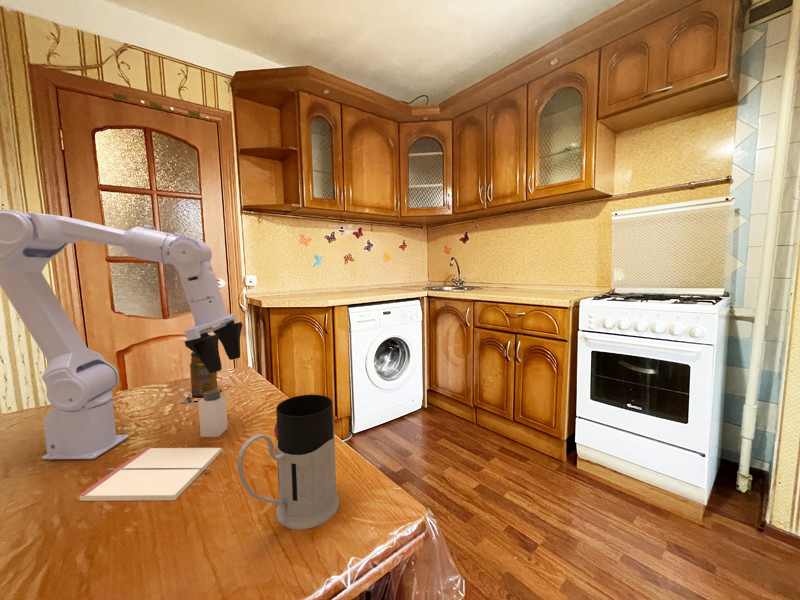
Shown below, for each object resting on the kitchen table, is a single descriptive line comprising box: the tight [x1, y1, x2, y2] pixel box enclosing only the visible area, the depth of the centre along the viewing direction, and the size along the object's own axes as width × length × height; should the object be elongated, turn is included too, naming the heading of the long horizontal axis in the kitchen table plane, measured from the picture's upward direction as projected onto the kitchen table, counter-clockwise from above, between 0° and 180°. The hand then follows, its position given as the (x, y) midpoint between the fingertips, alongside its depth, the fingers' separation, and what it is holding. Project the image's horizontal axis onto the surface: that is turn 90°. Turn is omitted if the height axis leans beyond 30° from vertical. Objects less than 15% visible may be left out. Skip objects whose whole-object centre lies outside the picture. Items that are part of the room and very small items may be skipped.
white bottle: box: [197, 390, 228, 438], centre depth 70 cm, size 4×4×9 cm
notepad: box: [78, 447, 223, 502], centre depth 56 cm, size 17×13×1 cm
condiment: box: [182, 351, 219, 404], centre depth 89 cm, size 7×8×12 cm
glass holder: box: [237, 394, 341, 531], centre depth 45 cm, size 9×14×15 cm, turn 146°
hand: (226, 364), depth 68 cm, fingers open, 7 cm apart
